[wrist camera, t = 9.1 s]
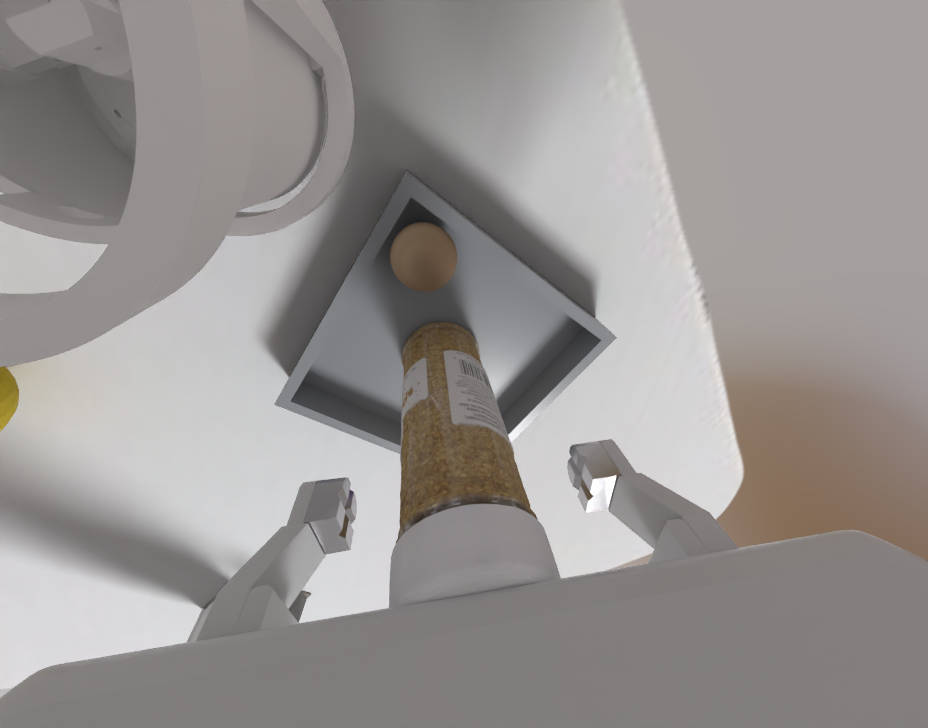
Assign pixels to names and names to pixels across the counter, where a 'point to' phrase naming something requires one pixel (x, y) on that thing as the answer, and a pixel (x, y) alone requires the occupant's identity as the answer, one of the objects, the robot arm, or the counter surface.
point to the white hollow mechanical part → (158, 142)
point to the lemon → (7, 396)
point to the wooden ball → (423, 256)
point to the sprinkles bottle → (459, 480)
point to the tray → (459, 302)
